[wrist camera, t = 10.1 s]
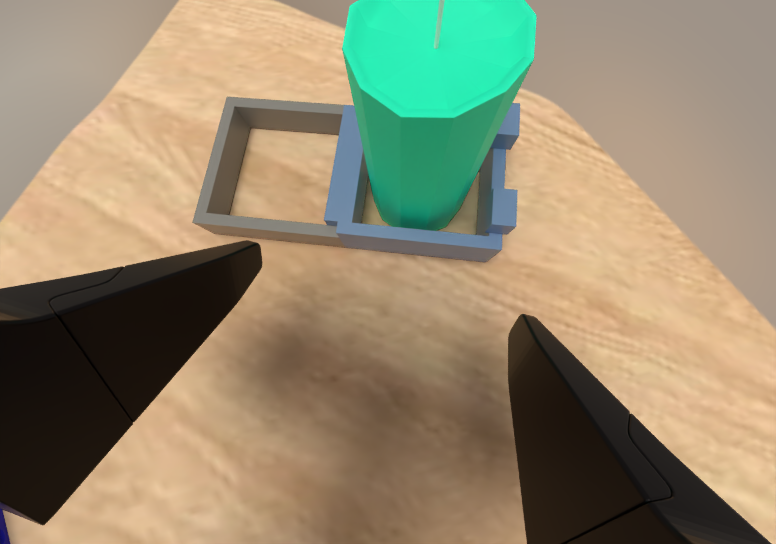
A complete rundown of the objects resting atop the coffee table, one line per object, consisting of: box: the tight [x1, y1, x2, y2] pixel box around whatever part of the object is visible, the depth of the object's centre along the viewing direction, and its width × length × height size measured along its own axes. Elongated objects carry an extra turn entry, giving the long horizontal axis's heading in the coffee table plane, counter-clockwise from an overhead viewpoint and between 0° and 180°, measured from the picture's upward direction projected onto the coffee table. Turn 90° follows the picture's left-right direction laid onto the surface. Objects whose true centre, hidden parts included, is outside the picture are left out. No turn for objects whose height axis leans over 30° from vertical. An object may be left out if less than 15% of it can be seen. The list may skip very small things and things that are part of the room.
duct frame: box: [192, 97, 520, 262], centre depth 17 cm, size 18×9×4 cm, turn 83°
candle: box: [342, 0, 536, 231], centre depth 13 cm, size 6×6×12 cm
